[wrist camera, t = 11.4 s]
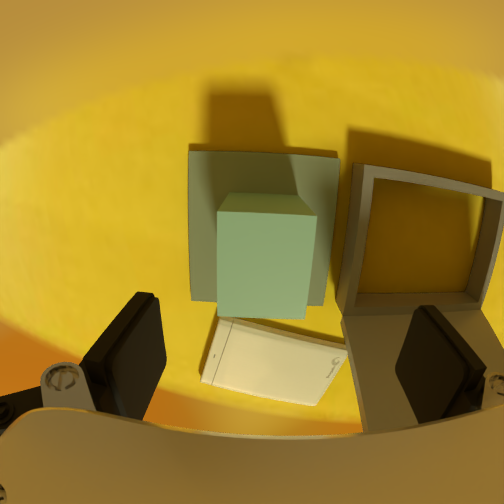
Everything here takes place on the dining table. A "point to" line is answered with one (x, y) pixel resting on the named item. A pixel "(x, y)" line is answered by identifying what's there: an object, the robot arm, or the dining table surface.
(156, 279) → the dining table surface
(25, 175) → the dining table surface
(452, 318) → the lid
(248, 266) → the block
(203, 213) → the mat
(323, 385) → the hard drive
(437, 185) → the case
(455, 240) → the dining table surface
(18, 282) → the dining table surface
